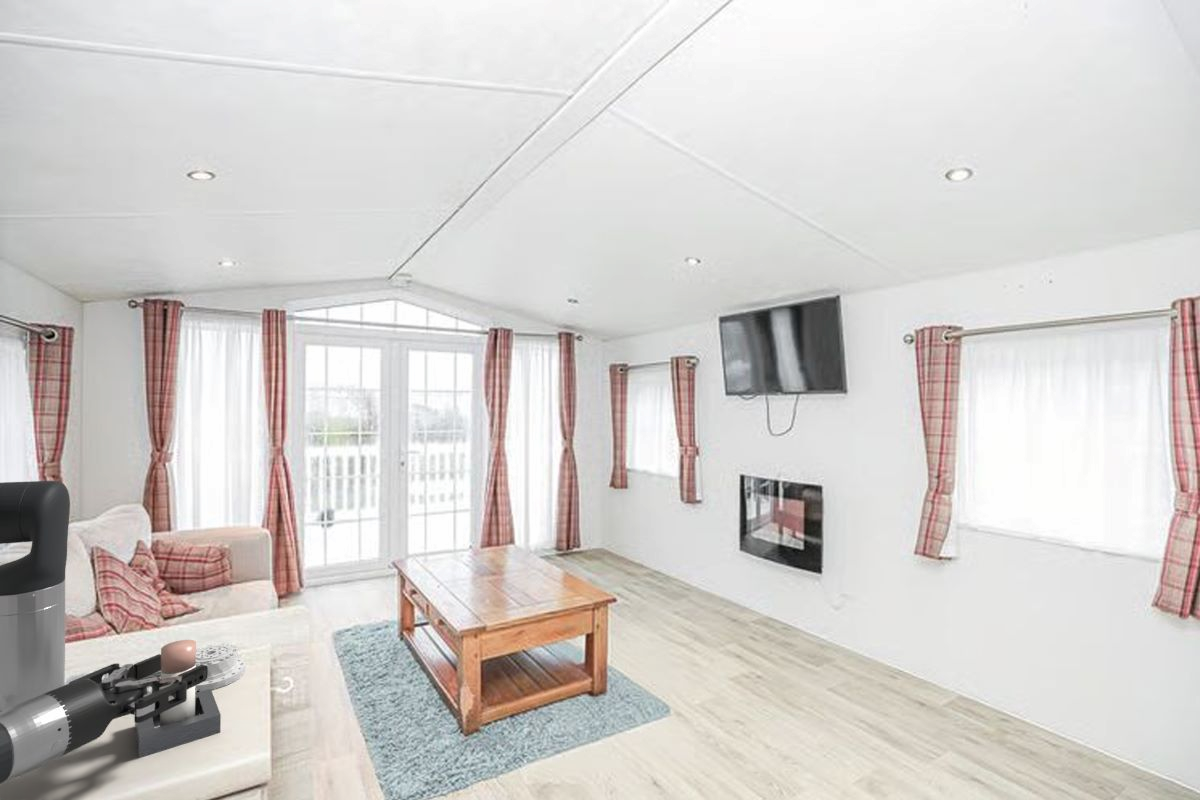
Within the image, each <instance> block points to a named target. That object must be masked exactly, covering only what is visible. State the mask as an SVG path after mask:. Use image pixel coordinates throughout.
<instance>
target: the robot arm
mask: <svg viewBox="0 0 1200 800" xmlns="http://www.w3.org/2000/svg"><path fill="white" fill-rule="evenodd" d="M70 499H71V498H70V493H69V489H68V488H67V486H66V485H65V484H64V483H63V482H61V481H58V480H57V481H56V480H36V481H35V480H34V481H31V480H30V481H10V482H9V481H7V482H0V545H2V544H18V543H20V544H21V543H31V548H30V550H29V551H30V552H29V553H28V554H26V555H24V556H23V557H20V558H19V559H15V560H13V561H10V562H6V563H3V564H0V785H1V784H2V783H5V782H8V781H9V780H12V779H15V778H17V777H19V776H23V775H25V774H28V773H30V772H32V771H35V770H37V769H39V768H41V767H42V766H45V765H47V764H49V763H51V762H53V761H54V760H55V761H56V759H58V758H59V759H60V758H62V757H63V756H65V755H66V754H69V753H71V752H73V751H75V750H77V749H79V748H81V747H83V746H85V745H87V744H89V743H92V742H93V741H95V740H97V739H99V738H100V737H101V736H102V735H103V734H104V733H105V731H106V729H107V728H108V726H109V725H110V723H111V722H112V721H113V720H115V719H116V720H117V719H118V718H122V717H125V716H129V715H130V714H131V715H133V716H134V718H133V719H134V724H135V723H140V722H143V721H145V720H147V719H149V718H151V717H154V716H156V715H158V714H160V713H162V712H164V711H166V710H168V709H171V708H173V707H175V706H177V705H179V704H181V703H183V702H185V701H186V700H187V689H189V688H191V687H194V686H196V685H198V684H200V683H202V682H204V681H205V680H206V679H207V676H208V667H207V666H206V665H199V666H197V667H195V668H193V669H191V670H188V671H186V672H184V673H182V674H180V675H178V676H176V677H171V678H166V679H161V677H160V676H154V677H149V676H152V675H154V674H156V673H159V672H161V653H157V654H156V655H154V656H153V655H152V656H151V657H148V658H146V659H144V660H141V661H139V662H136V663H127V664H124V665H122V666H120V663H111V664H110V665H107V666H105V667H101V668H100V669H97V670H95V671H93V672H91V673H88V674H86V675H83V676H81V677H78V678H76V679H73V680H72V681H69V682H68V683H67V684H66V682H65V681H66V680H65V678H66V677H65V676H66V675H65V673H66V666H65V665H66V566H67V560H68V537H69V526H70V525H69V523H70V515H71V514H70V513H71V512H70V511H71V500H70ZM104 675H107V676H108V677H105V678H103V677H104ZM147 677H149V678H147ZM167 685H170V686H168V687H166V688H163V689H161V687H162V686H167ZM148 687H150V688H151V691H152V692H151V693H150V694H148ZM170 699H172V700H170ZM169 700H170V701H169Z"/></svg>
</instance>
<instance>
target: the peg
mask: <svg viewBox="0 0 1200 800" xmlns="http://www.w3.org/2000/svg"><path fill="white" fill-rule="evenodd" d="M196 649H197V642H196V641H195V640H192V639H181V640H177V641H176V640H175V641H171V642H170V643H167V644H164V645H163V646H162V647H161V648H160V654H161V671H160V679H166V678H171V677H176V676H178V675H180V674H182V673H184V672H186V671H188V670H191V669H193V668H195V667H196ZM168 686H170V685H167V686H162V687H160V690H161V689H163V688H166V687H168ZM195 693H196V692H195V686H194V687H191V688H189V689H187V700H186V701H185V702H183V703H181V704H179V705H177V706H175V707H173V708H171V709H168V710H166V711H164V712H162V713H160V725H159V727H160V726H164V725H167V724H171V723H174V722H177V721H181V720H184V719H188V718H191V717H194V716H196V715H195ZM170 700H172V699H170ZM170 700H169V701H170Z"/></svg>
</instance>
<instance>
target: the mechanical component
mask: <svg viewBox="0 0 1200 800" xmlns="http://www.w3.org/2000/svg"><path fill="white" fill-rule="evenodd" d="M199 665H206V666H207V667H208V676H207V679H206V680H205V681H204V682H202V683H200V684H198V685H196V686H195V688H197V689H200V690H202V691H204V690H208V689H211V691H212V690H216V689H218V688H219V689H220V688H222V687H225V686H226V687H227V686H228V685H230V684H232V683H234V682H236V681H238V680H239V679H241V677H243V676H244V674H245V672H246V661H245V660H244V659H243V658H240V657H238V648H237V647H234V644H229V643H226V644H225V643H221V644H216V645H213V644H210V645H208V646H206V647H205V646H204V647H201V648H196V667H197V666H199Z"/></svg>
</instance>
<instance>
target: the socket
mask: <svg viewBox="0 0 1200 800" xmlns="http://www.w3.org/2000/svg"><path fill="white" fill-rule="evenodd" d="M221 717H222V715H221V712H220V710H219V707H218V705H217V702H216V699H215V696H214V694H213V691H212V690H211V689H208V690H204V691H201V692H195V716H194V717H191V718H188V719H184V720H181V721H177V722H174V723H171V724H167V725H164V726H160V714H158V715H156V716H154V717H151V718H149V719H147V720H145V721H143V722H140V723H135V722H134V729H135V736H136V737H135V738H136V744H137V752H138V758H140V759H141V758H143V757H146V756H149V755H152V754H155V753H158V752H161V751H166V750H169V749H172V748H175V747H177V746H181V745H184V744H187V743H191V742H195V741H197V740H201V739H203V738H207V737H210V736H212V735H213V736H214V735H215V734H219V733H221V726H222V725H221Z"/></svg>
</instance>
